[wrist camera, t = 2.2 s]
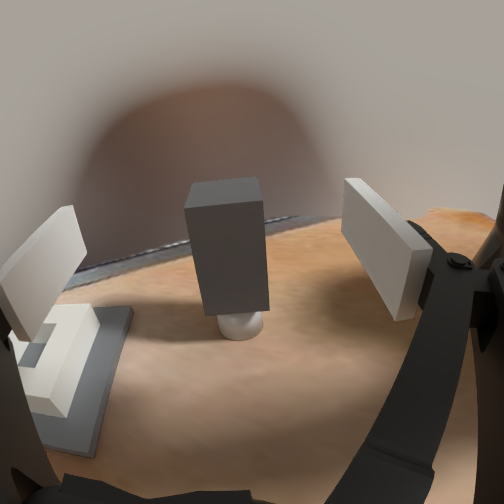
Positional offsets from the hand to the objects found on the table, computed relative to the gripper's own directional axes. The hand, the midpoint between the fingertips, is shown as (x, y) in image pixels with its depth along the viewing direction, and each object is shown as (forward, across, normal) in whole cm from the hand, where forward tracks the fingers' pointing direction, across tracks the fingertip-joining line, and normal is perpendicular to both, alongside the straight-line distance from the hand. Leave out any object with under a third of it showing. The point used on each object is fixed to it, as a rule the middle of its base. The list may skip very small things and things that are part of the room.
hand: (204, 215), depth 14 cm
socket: (+4, -20, -17) cm, 27 cm away
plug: (+10, +1, -16) cm, 19 cm away
